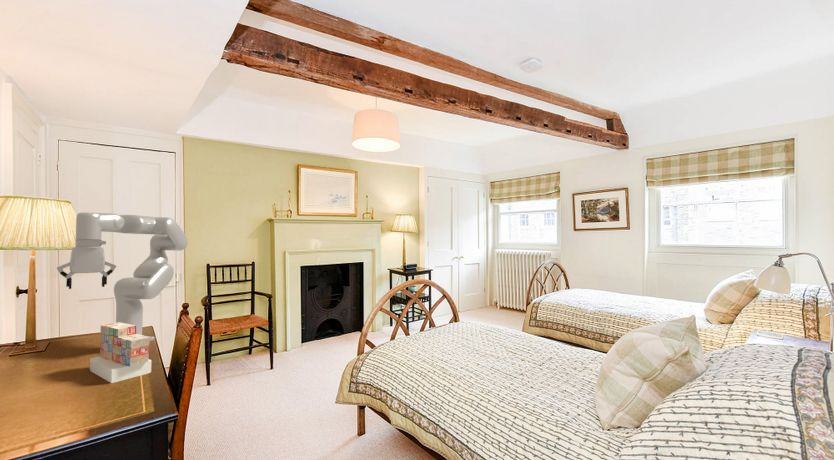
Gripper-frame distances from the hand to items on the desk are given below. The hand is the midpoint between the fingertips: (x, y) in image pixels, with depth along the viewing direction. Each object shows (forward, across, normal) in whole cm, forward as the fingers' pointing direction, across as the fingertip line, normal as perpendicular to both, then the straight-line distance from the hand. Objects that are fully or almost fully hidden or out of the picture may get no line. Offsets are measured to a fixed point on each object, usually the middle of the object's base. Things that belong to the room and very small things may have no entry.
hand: (86, 287), depth 142 cm
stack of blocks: (+26, -10, +18) cm, 33 cm away
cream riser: (+31, -10, +17) cm, 37 cm away
